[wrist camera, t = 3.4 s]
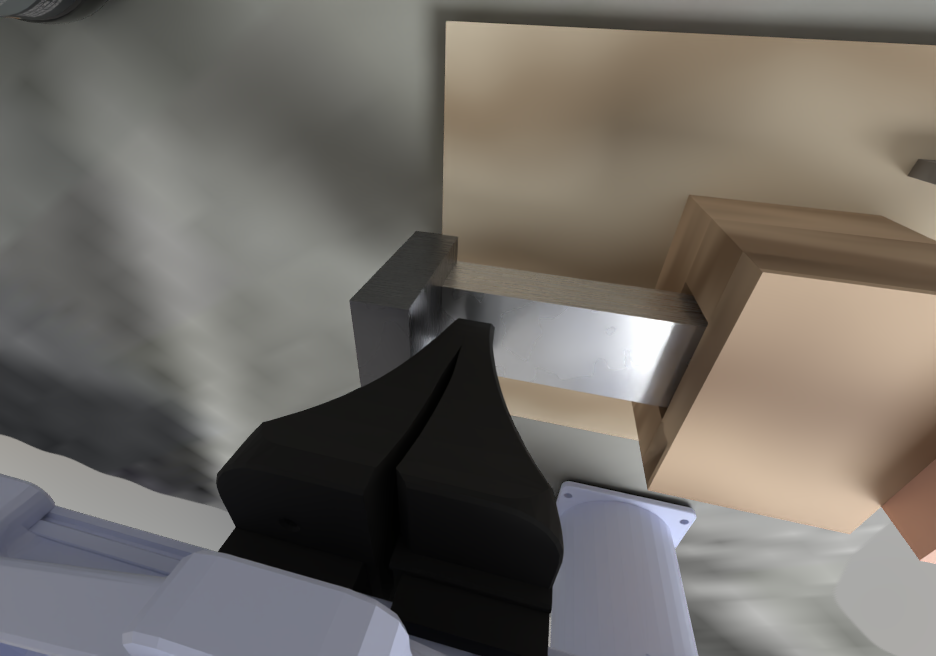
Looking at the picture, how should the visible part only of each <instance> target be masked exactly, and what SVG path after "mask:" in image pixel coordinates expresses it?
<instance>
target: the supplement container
mask: <svg viewBox="0 0 936 656" xmlns="http://www.w3.org/2000/svg"><path fill="white" fill-rule="evenodd" d="M107 1H108V0H0V17H7V18H15V19H18V20H23V21H27V22H33V23H44V24H63V23H70V22H74V21H78V20H81V19H84V18H86V17H88V16H90V15H92V14H93V13H95V12H96V11H97V10H99V9H100V8H101V7H103V6H104V4H105V3H106V2H107Z"/></svg>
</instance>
